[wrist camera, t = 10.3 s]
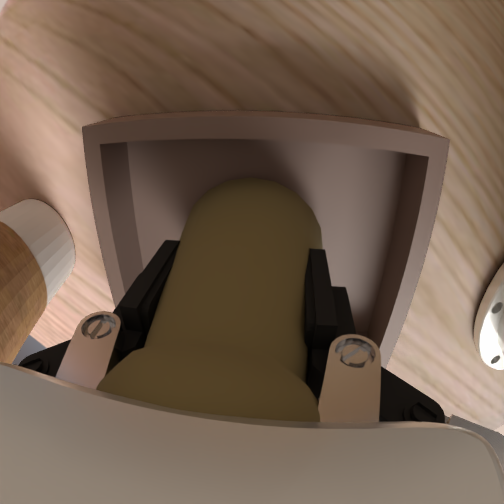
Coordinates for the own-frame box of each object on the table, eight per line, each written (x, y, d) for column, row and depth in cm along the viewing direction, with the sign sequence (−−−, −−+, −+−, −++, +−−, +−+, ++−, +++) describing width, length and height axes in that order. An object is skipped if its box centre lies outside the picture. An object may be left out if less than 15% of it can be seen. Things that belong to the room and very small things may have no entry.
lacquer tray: (420, 128, 12) (449, 139, 10) (374, 334, 18) (384, 371, 15) (116, 117, 13) (82, 126, 11) (146, 318, 19) (129, 351, 17)
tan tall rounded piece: (266, 322, 16) (236, 549, 6) (161, 255, 15) (35, 471, 5) (352, 236, 13) (423, 512, 4) (233, 147, 12) (48, 390, 2)
